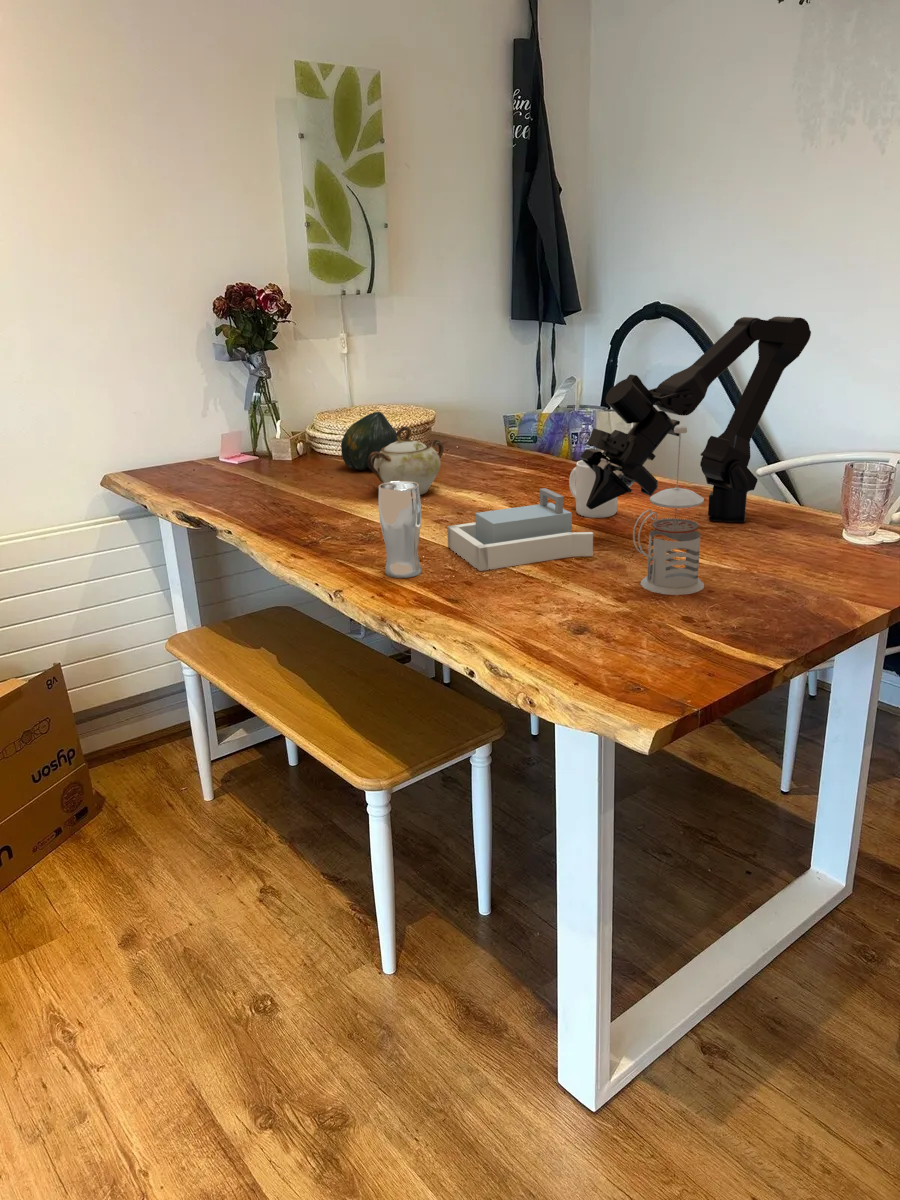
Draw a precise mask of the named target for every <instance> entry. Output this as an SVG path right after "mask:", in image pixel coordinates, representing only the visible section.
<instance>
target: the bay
mask: <svg viewBox="0 0 900 1200" xmlns="http://www.w3.org/2000/svg"><path fill="white" fill-rule="evenodd" d="M446 528H447V529H446V530H447V531H446V532H447V548H448V547H449V548H450V549H449V548H448V549H449V550H450V551H452V552H453V551H454V552H453V553H455V554H456V553H457V554H456V555H457V556H459V557H460V556H461V557H460V558H462V559H463V560H464V559H465V560H464V561H466V562H467V563H468V562H469V563H468V564H470V565H471V566H472V567H474V568H475V569H476V568H477V569H476V570H477V571H479V572H481V571H482V572H483V571H489V569H490V570H495V569H501V568H507V567H508V568H509V567H514V566H521V565H526V564H533V563H540V562H545V561H552V560H560V559H565V558H571V557H593V556H594V555H593V553H594V532H592V531H580V532H579V531H577V532H575V531H574V532H566V533H560V534H553V535H546V536H539V537H533V538H526V539H519V540H513V541H506V542H499V543H492V544H486V545H484V544H482V543H481V542H479V541H478V540H476V521H475V522H468V523H461V524H454V525H448V526H446Z"/></svg>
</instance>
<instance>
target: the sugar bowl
mask: <svg viewBox="0 0 900 1200" xmlns="http://www.w3.org/2000/svg"><path fill="white" fill-rule="evenodd" d="M404 431H406V435H404V436H403V437H402V436H401V434H402V432H404ZM396 433H397V438H398V440H397V441H396V442H394V443H391V444H389V445H388V446H386V447H384V448H382V450H381V451H380V452H376V451H375V452H372V453H371V454H370V455H369V457H368V465H369V467H368V469H369V470H371V472H372V473H374V475H375V476H376V477H377V478H378V481H380V482H381V484H383V483H386V482H391V481H412V482H416V483H418V484H419V493H420V496H422V495H424V494H426V493H428V492H429V489H430V487H431V485H432V484H433V482H434V481H435V479H436V477H437V476H438V474H439V471H440V469H441V464H442V463H441V458H442V457H443V454H444V445H443V443H442V442H441V441H440V440H438V439H434V440H430V441H428V442H426V443H424V442H421V441H418V440H413V439H412V440H411V439H410V437H412V431H411V429H410V428H409V427H407V426H401V427H400V428H399V429H398V430H397V431H396ZM436 445H437V446H438V452H437V448H436V447H435V446H436ZM374 457H376V458H375V461H374V466H373V459H374Z"/></svg>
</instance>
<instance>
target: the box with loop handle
mask: <svg viewBox="0 0 900 1200" xmlns="http://www.w3.org/2000/svg"><path fill="white" fill-rule="evenodd" d="M548 498H549V499H550V500H553V501H554V502H555V503H553V502H549V501H548ZM564 498H565V497H564V495H561V494H559V493H557V492H555V491H553V490H550V489H548V488H546V487H545V488H539V503H538V504H532V505H526V506H525V505H524V506H517V507H509V508H501V509H494V510H487V511H481V512H475V513H474V518H475V522H476V540H478V541H479V542H481V543H482V544H484V545H486V544H492V543H499V542H506V541H513V540H519V539H526V538H533V537H539V536H546V535H553V534H560V533H566V532H572V531H573V520H572V519H573V512H570V511H569V510H567V509H565V508H564V500H565V499H564Z"/></svg>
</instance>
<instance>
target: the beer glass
mask: <svg viewBox="0 0 900 1200" xmlns="http://www.w3.org/2000/svg"><path fill="white" fill-rule="evenodd" d="M421 502H422V501H421V495H420V493H419V484H418V483H416V482H412V481H391V482H386V483H380V484H379V485H378V516H379V517H378V518H379V524H380V529H381V533H382V537H383V541H384V545H385V551H386V561H385V562H386V563H385V568H384V570H385V575H386V576H387V577H390V578H393V579H409V578H414V577H418V576H419V575H421V573H422V566H421V563H420V562H421V561H420V558H419V541H420V534H421V533H420V532H421V527H422V503H421Z"/></svg>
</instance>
